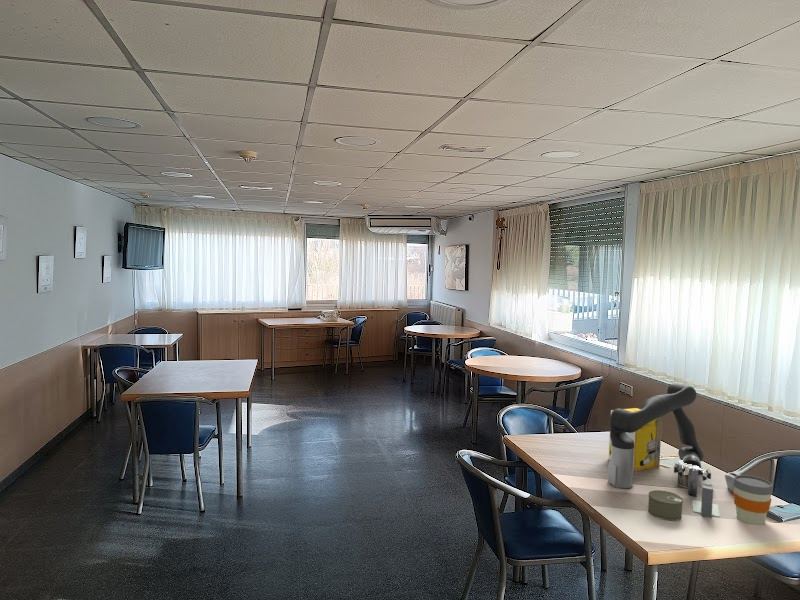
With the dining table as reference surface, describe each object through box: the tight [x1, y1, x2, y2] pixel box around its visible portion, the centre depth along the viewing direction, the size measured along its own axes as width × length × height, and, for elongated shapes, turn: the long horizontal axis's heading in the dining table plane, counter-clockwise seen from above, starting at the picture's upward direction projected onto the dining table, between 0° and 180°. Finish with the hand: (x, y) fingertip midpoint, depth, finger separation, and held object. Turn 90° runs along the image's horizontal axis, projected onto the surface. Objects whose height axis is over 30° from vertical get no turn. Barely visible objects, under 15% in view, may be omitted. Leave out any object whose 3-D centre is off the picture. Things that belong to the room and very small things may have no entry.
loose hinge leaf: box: [687, 466, 699, 498], centre depth 222 cm, size 3×6×11 cm, turn 152°
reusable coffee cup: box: [732, 474, 774, 526], centre depth 200 cm, size 13×13×15 cm
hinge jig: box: [691, 482, 721, 519], centre depth 208 cm, size 14×9×11 cm, turn 152°
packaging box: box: [608, 407, 663, 472], centre depth 258 cm, size 16×16×25 cm
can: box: [647, 489, 684, 522], centre depth 203 cm, size 12×12×7 cm
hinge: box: [724, 472, 741, 492], centre depth 222 cm, size 17×5×10 cm, turn 178°
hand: (692, 476), depth 226 cm, fingers open, 8 cm apart
